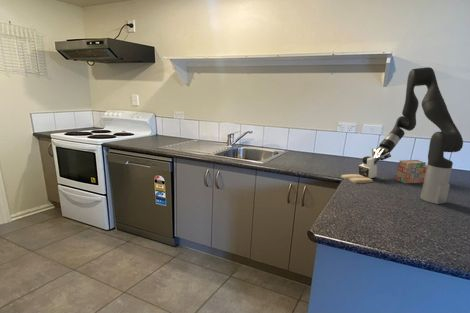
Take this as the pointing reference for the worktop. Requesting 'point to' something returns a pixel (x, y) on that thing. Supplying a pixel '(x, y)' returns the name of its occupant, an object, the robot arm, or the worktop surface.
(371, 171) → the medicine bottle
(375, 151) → the robot arm
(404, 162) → the stack of blocks
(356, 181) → the maple board
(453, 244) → the worktop surface
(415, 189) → the worktop surface
